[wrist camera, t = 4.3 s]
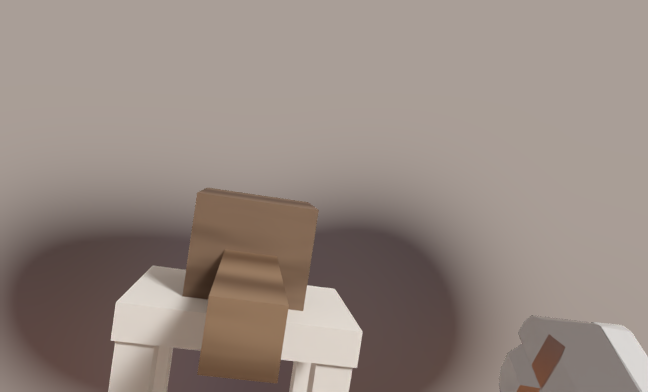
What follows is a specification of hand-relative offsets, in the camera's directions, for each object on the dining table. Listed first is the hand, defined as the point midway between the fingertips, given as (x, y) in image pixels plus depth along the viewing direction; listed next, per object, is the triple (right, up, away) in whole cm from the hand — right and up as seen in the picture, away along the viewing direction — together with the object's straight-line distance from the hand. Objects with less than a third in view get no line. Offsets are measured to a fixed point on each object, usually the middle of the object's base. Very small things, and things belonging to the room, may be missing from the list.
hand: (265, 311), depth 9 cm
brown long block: (-3, -5, +23) cm, 23 cm away
